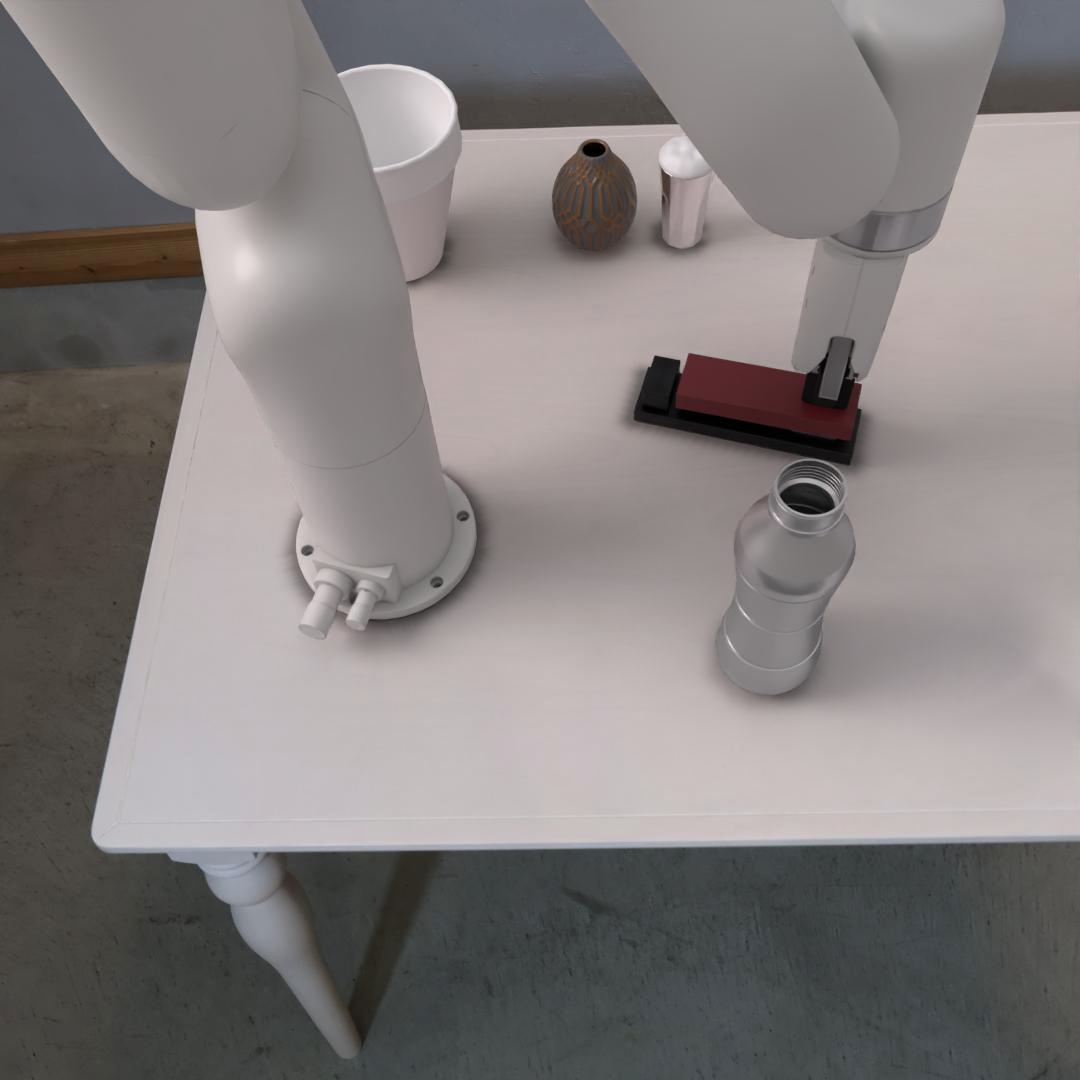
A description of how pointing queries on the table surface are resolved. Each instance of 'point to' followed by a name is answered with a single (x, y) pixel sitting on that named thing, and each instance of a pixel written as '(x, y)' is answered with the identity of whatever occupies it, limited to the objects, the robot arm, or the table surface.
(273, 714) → the table surface
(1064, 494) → the table surface
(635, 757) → the table surface
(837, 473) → the plastic bottle
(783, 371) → the stapler arm
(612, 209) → the vase
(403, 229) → the cup
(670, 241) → the milkshake
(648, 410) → the stapler base
